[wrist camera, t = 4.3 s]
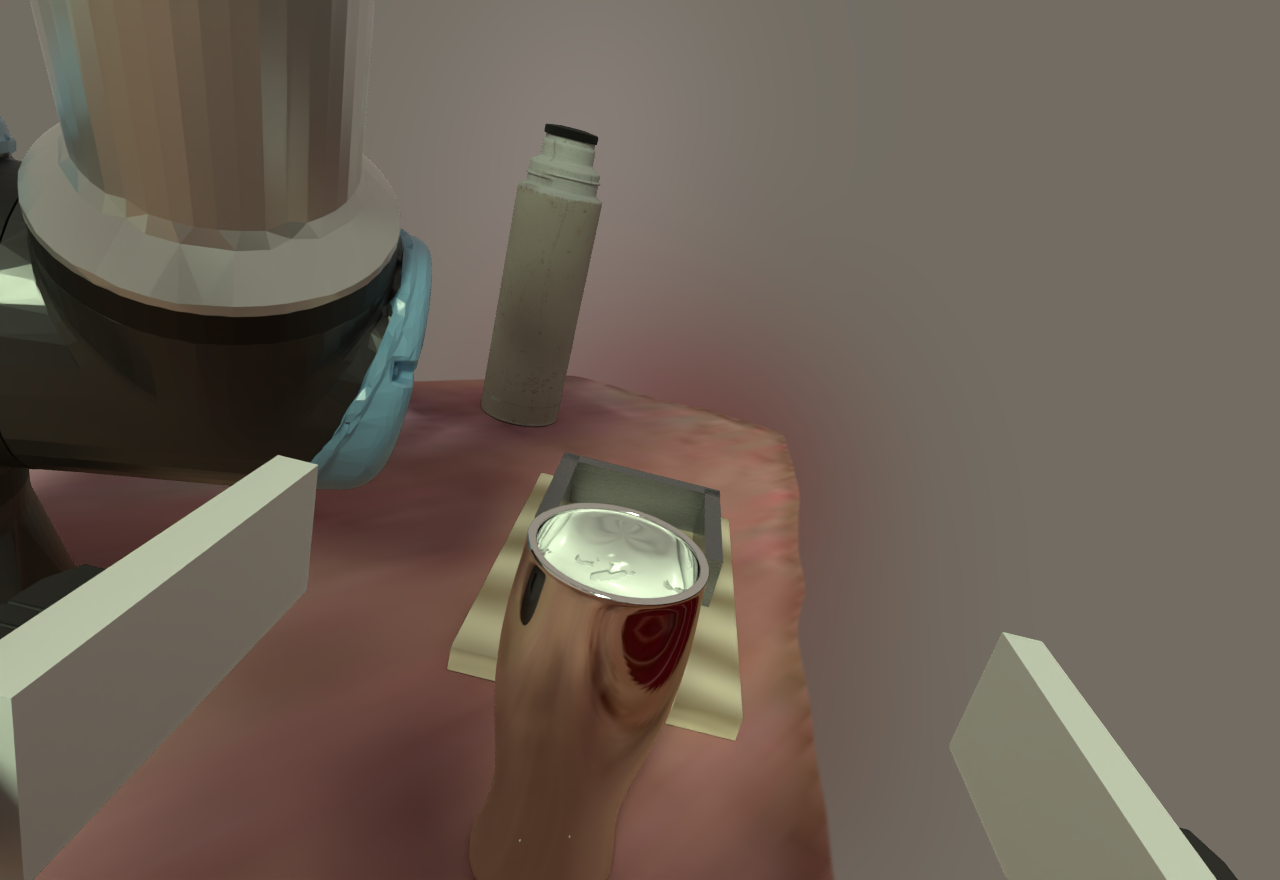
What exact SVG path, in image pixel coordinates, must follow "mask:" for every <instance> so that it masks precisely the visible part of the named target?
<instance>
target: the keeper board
mask: <svg viewBox="0 0 1280 880" xmlns="http://www.w3.org/2000/svg"><path fill="white" fill-rule="evenodd" d="M552 479H553V475H549V474H545V473H541V475H540V477H539V478H538V480H537V482H536V484H535V486H534V488H533V490H532V492H531V494H530V496H529V498H528V500H527V502H526V503H525V505H524V507H523V509H522V511H521V513H520V515H519V517H518V519H517V521H516V523H515V525H514V527H513V529H512V530H511V532H510V534H509V536H508V538H507V540H506V542H505V544H504V546H503V548H502V550H501V552H500V554H499V555H498V557H497V559H496V561H495V563H494V565H493V567H492V569H491V571H490V573H489V575H488V577H487V579H486V581H485V582H484V584H483V586H482V588H481V590H480V592H479V594H478V596H477V598H476V600H475V602H474V604H473V606H472V607H471V609H470V611H469V613H468V615H467V617H466V619H465V621H464V623H463V625H462V627H461V629H460V631H459V632H458V634H457V636H456V638H455V640H454V642H453V644H452V646H451V650H450V656H449V661H448V667H447V669H448V670H452V671H456V672H460V673H464V674H468V675H472V676H476V677H480V678H484V679H488V680H492V681H495V673H496V658H497V652H498V646H499V640H500V634H501V628H502V623H503V619H504V615H505V611H506V607H507V603H508V598H509V595H510V591H511V588H512V585H513V581H514V578H515V574H516V571H517V568H518V565H519V562H520V559H521V555H522V552H523V549H524V546H525V542H526V538H527V531H528V528H529V526H530V524H531V523H532V521H533V520H534V518H535V514H536V512H537V510H538V508H539V506H540V504H541V502H542V500H543V498H544V495H545V493H546V491H547V489H548V487H549V485H550V483H551V481H552ZM568 504H575V503H572V502H568ZM721 529H722V549H723V564H722V567H721V570H720V574H719V577H718V580H717V583H716V586H715V589H714V592H713V596H712V599H711V602H710V605H709V607H705V606H701V610H700V615H699V620H698V624H697V628H696V633H695V637H694V642H693V646H692V650H691V653H690V657H689V661H688V664H687V668H686V671H685V675H684V678H683V681H682V683H681V686H680V689H679V692H678V695H677V697H676V700H675V703H674V706H673V708H672V710H671V712H670V714H669V716H668V718H667V720H666V722H665V723H666V724H670V725H674V726H678V727H682V728H686V729H690V730H694V731H698V732H702V733H706V734H710V735H714V736H718V737H722V738H726V739H730V740H734V741H735V740H736V737H737V734H738V731H739V729H740V726H741V723H742V720H743V713H742V700H741V686H740V672H739V658H738V644H737V630H736V616H735V603H734V589H733V575H732V561H731V547H730V533H729V519H725V518H721ZM678 530H680V529H678ZM680 531H681V532H683V533H684V534H685V535H687V536H688V537H689V538H690V539H691V540H692V541H693V533H692V532H688V531H684V530H680Z"/></svg>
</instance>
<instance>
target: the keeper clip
mask: <svg viewBox="0 0 1280 880" xmlns="http://www.w3.org/2000/svg"><path fill="white" fill-rule="evenodd" d="M568 502H572V503H600V504H609V505H615V506H620V507H625V508H629V509H633V510H636V511H640V512H643V513H645V514H648V515H651V516H653V517H656V518H658V519H660V520H662V521H664V522H666V523H668V524H670V525H672V526H673V527H675V528H677V529H680V530H684V531H688V532H692V533H693V541H694V542H695V543H696V544H697V546H698V547H699V548H700V549H701V551H702V552H703V554H704V555H705V557H706V559H707V562H708V565H709V578H708V581H707V583H706V586H705V590H704V595H703V599H702V604H701V606H705V607H709V605H710V602H711V599H712V596H713V592H714V589H715V586H716V583H717V580H718V577H719V574H720V570H721V567H722V564H723V549H722V529H721V510H720V491H719V490H715V489H711V488H707V487H703V486H699V485H695V484H691V483H687V482H683V481H679V480H675V479H671V478H667V477H663V476H659V475H655V474H651V473H647V472H643V471H639V470H635V469H631V468H627V467H623V466H619V465H615V464H611V463H607V462H603V461H599V460H595V459H591V458H587V457H583V456H579V455H575V454H571V453H567V452H565V453H564V455H563V458H562V460H561V462H560V464H559V466H558V468H557V470H556V472H555V474H554V476H553V479H552V481H551V483H550V485H549V487H548V489H547V491H546V493H545V495H544V498H543V500H542V502H541V504H540V506H539V508H538V510H537V512H536V514H535V518H536V517H537V516H538V515H540V514H541V513H543V512H545V511H547V510H549V509H551V508H554V507H558V506H562V505H567V504H568ZM535 518H534V519H535Z"/></svg>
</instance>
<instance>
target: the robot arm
mask: <svg viewBox="0 0 1280 880" xmlns="http://www.w3.org/2000/svg"><path fill="white" fill-rule="evenodd" d="M30 4H31V8H32V12H33V16H34V20H35V24H36V28H37V32H38V36H39V40H40V45H41V49H42V52H43V57H44V61H45V65H46V69H47V73H48V77H49V81H50V85H51V89H52V93H53V97H54V101H55V106H56V110H57V114H58V118H59V123H58V124H56V125H55V126H53V127H52V128H50V129H49V130H47V131H46V132H45V133H44V134H43V135H42V136H41V137H40V138H39V139H38V140H36V141H35V143H34V144H33V145H32V146H31V148H30V149H29V150H28V152H27V153H26V155H25V156H24V158H23V161H22V162H21V161H18V160H15V159H14V158H13V157H12V156H11V155H12V153H13V152H15V151H16V141H15V140H14V139H13V138H12V137H11V135H10V133H9V130H8V128H7V125H6V123H5V121H4V120H3V119H2V118H1V117H0V880H34V879H35V877H36V876H37V875H38V874H39V873H40V872H41V871H42V870H43V869H44V868H45V867H46V866H47V865H48V864H49V863H50V862H51V861H52V859H53V858H54V857H55V856H56V855H57V854H58V853H59V852H60V851H61V850H62V849H63V848H64V847H65V846H66V845H67V844H68V843H69V842H70V840H71V839H72V838H73V837H74V836H75V835H76V834H77V833H78V832H79V831H80V830H81V829H82V828H83V827H84V826H85V825H86V824H87V822H88V821H89V820H90V819H91V818H92V817H93V816H94V815H95V814H96V813H97V812H98V811H99V810H100V809H101V808H102V807H103V806H104V804H105V803H106V802H107V801H108V800H109V799H110V798H111V797H112V796H113V795H114V794H115V793H116V792H117V791H118V790H119V789H120V788H121V787H122V785H123V784H124V783H125V782H126V781H127V780H128V779H129V778H130V777H131V776H132V775H133V774H134V773H135V772H136V771H137V770H138V769H139V767H140V766H141V765H142V764H143V763H144V762H145V761H146V760H147V759H148V758H149V757H150V756H151V755H152V754H153V753H154V752H155V751H156V750H157V748H158V747H159V746H160V745H161V744H162V743H163V742H164V741H165V740H166V739H167V738H168V737H169V736H170V735H171V734H172V733H173V732H174V730H175V729H176V728H177V727H178V726H179V725H180V724H181V723H182V722H183V721H184V720H185V719H186V718H187V717H188V716H189V715H190V714H191V712H192V711H193V710H194V709H195V708H196V707H197V706H198V705H199V704H200V703H201V702H202V701H203V700H204V699H205V698H206V697H207V696H208V695H209V693H210V692H211V691H212V690H213V689H214V688H215V687H216V686H217V685H218V684H219V683H220V682H221V681H222V680H223V679H224V678H225V677H226V675H227V674H228V673H229V672H230V671H231V670H232V669H233V668H234V667H235V666H236V665H237V664H238V663H239V662H240V661H241V660H242V659H243V657H244V656H245V655H246V654H247V653H248V652H249V651H250V650H251V649H252V648H253V647H254V646H255V645H256V644H257V643H258V642H259V641H260V640H261V638H262V637H263V636H264V635H265V634H266V633H267V632H268V631H269V630H270V629H271V628H272V627H273V626H274V625H275V624H276V623H277V622H278V620H279V619H280V618H281V617H282V616H283V615H284V614H285V613H286V612H287V611H288V610H289V609H290V608H291V607H292V606H293V605H294V604H295V602H296V601H297V600H298V599H299V598H300V597H301V596H302V595H303V594H304V593H305V592H306V591H307V584H308V573H309V562H310V551H311V540H312V529H313V518H314V507H315V496H316V489H329V490H348V489H354V488H357V487H360V486H362V485H365V484H366V483H368V482H370V481H371V480H372V479H374V478H375V477H376V476H377V475H378V474H379V473H380V472H381V470H382V469H383V468H384V466H385V465H386V463H387V461H388V460H389V458H390V456H391V454H392V451H393V449H394V447H395V444H396V442H397V439H398V437H399V434H400V431H401V428H402V425H403V422H404V419H405V416H406V412H407V409H408V406H409V402H410V398H411V393H412V389H413V382H414V374H413V372H414V370H415V369H416V366H417V363H418V359H419V355H420V353H421V349H422V346H423V342H424V337H425V331H426V325H427V319H428V312H429V304H430V296H431V282H432V262H431V255H430V251H429V249H428V247H427V245H426V244H425V243H424V242H423V241H422V240H420V239H419V238H416V237H414V236H411V235H409V234H408V233H407V232H405V231H404V230H403V229H401V214H400V210H399V206H398V202H397V199H396V196H395V193H394V191H393V189H392V187H391V186H390V184H389V182H388V181H387V179H386V178H385V176H384V175H383V174H382V173H381V172H380V171H379V169H378V168H377V167H376V166H375V165H374V164H373V163H372V162H371V161H370V160H369V159H368V158H367V157H366V156H365V155H364V154H363V152H364V139H365V125H366V112H367V99H368V85H369V72H370V58H371V45H372V33H373V19H374V6H375V0H30ZM29 469H45V470H58V471H72V472H85V473H96V474H107V475H118V476H130V477H141V478H152V479H163V480H174V481H186V482H197V483H208V484H219V485H230V486H231V487H229V488H228V489H226V490H225V491H223V492H222V493H220V494H219V495H217V496H216V497H214V498H213V499H211V500H210V501H208V502H207V503H205V504H204V505H202V506H201V507H199V508H198V509H196V510H195V511H193V512H192V513H190V514H189V515H187V516H186V517H184V518H183V519H181V520H180V521H178V522H177V523H175V524H174V525H172V526H170V527H169V528H167V529H166V530H164V531H163V532H161V533H160V534H158V535H157V536H155V537H154V538H152V539H151V540H149V541H148V542H146V543H145V544H143V545H142V546H140V547H139V548H137V549H136V550H134V551H133V552H131V553H130V554H128V555H127V556H125V557H124V558H122V559H121V560H119V561H118V562H116V563H115V564H113V565H112V566H110V567H109V568H107V569H103V568H98V567H94V566H90V565H86V564H85V565H82V566H79V567H75V565H74V563H73V562H72V560H71V558H70V556H69V554H68V552H67V550H66V549H65V547H64V545H63V543H62V541H61V539H60V538H59V536H58V534H57V532H56V530H55V528H54V527H53V525H52V523H51V521H50V519H49V517H48V516H47V514H46V512H45V510H44V508H43V506H42V505H41V503H40V501H39V499H38V497H37V495H36V493H35V492H34V490H33V488H32V486H31V482H30V475H29ZM949 748H950V751H951V753H952V755H953V758H954V760H955V762H956V765H957V767H958V769H959V771H960V774H961V776H962V778H963V781H964V783H965V785H966V788H967V790H968V792H969V794H970V797H971V799H972V801H973V804H974V806H975V808H976V810H977V813H978V815H979V817H980V820H981V822H982V824H983V826H984V829H985V831H986V833H987V836H988V838H989V840H990V843H991V845H992V847H993V849H994V852H995V854H996V856H997V859H998V861H999V863H1000V865H1001V867H1002V870H1003V872H1004V875H1005V877H1006V879H1007V880H1238V879H1237V878H1236V877H1235V876H1234V874H1233V873H1232V872H1231V870H1230V869H1229V868H1228V866H1227V865H1226V864H1225V863H1224V862H1223V861H1222V860H1221V859H1220V858H1219V857H1218V856H1217V855H1216V854H1215V853H1213V852H1212V851H1211V850H1210V849H1209V848H1208V847H1207V846H1206V845H1205V844H1204V843H1202V842H1201V841H1200V840H1199V839H1198V838H1197V837H1196V836H1195V835H1194V834H1193V833H1191V831H1189V830H1187V829H1183V828H1179V827H1178V826H1177V825H1176V823H1175V822H1174V821H1173V820H1172V818H1171V817H1170V816H1169V814H1168V813H1167V811H1166V810H1165V808H1164V807H1163V806H1162V804H1161V803H1160V802H1159V800H1158V799H1157V798H1156V797H1155V795H1154V793H1153V792H1152V791H1151V789H1150V788H1149V787H1148V785H1147V784H1146V783H1145V781H1144V780H1143V779H1142V777H1141V776H1140V774H1139V773H1138V772H1137V770H1136V769H1135V768H1134V766H1133V765H1132V764H1131V762H1130V761H1129V759H1128V758H1127V757H1126V755H1125V754H1124V753H1123V751H1122V750H1121V748H1120V747H1119V746H1118V744H1117V743H1116V742H1115V740H1114V739H1113V738H1112V736H1111V735H1110V734H1109V732H1108V731H1107V729H1106V728H1105V727H1104V725H1103V724H1102V723H1101V721H1100V720H1099V719H1098V717H1097V716H1096V714H1095V713H1094V712H1093V710H1092V709H1091V708H1090V706H1089V705H1088V704H1087V702H1086V701H1085V699H1084V698H1083V697H1082V695H1081V694H1080V693H1079V691H1078V690H1077V689H1076V687H1075V686H1074V685H1073V683H1072V682H1071V681H1070V679H1069V678H1068V676H1067V675H1066V674H1065V672H1064V671H1063V669H1062V668H1061V667H1060V665H1059V664H1058V663H1057V661H1056V660H1055V659H1054V657H1053V656H1052V655H1051V653H1050V652H1049V651H1048V649H1047V648H1046V646H1045V645H1044V644H1043V642H1041V641H1037V640H1032V639H1029V638H1025V637H1020V636H1017V635H1013V634H1009V633H1005V632H1003V633H1002V634H1001V636H1000V638H999V640H998V642H997V645H996V647H995V649H994V651H993V653H992V655H991V657H990V660H989V662H988V664H987V666H986V668H985V670H984V672H983V674H982V677H981V679H980V681H979V683H978V685H977V687H976V689H975V691H974V693H973V696H972V698H971V700H970V702H969V704H968V706H967V708H966V710H965V712H964V715H963V717H962V719H961V721H960V723H959V725H958V727H957V730H956V732H955V734H954V736H953V738H952V740H951V742H950V744H949Z"/></svg>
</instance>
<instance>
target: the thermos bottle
mask: <svg viewBox="0 0 1280 880" xmlns="http://www.w3.org/2000/svg"><path fill="white" fill-rule="evenodd" d="M545 132H547V133H546V138H545V139H544V140H543V145H542V151H541V154H540V155H538V156H536V157H534V158H532V159H531V160H530V164H529V169H527V172H528V176H527V179H526V181H522V182H519V183H518V188H517V193H516V199H515V206H514V211H513V217H512V223H511V229H510V235H509V241H508V247H507V252H506V259H505V264H504V270H503V276H502V282H501V288H500V294H499V300H498V305H497V311H496V318H495V324H494V329H493V335H492V341H491V347H490V353H489V359H488V364H487V370H486V377H485V382H484V388H483V394H482V400H481V407H482V409H483V410H484V411H485V412H486V413H487V414H489V415H490V416H492V417H494V418H496V419H499V420H502V421H504V422H508V423H512V424H516V425H523V426H546V425H549V424H552V423H554V422H555V421H556V420H557V416H558V411H559V407H560V402H561V398H562V392H563V387H564V382H565V377H566V373H567V368H568V363H569V358H570V354H571V349H572V344H573V339H574V334H575V329H576V324H577V319H578V315H579V310H580V305H581V301H582V297H583V292H584V287H585V282H586V277H587V273H588V268H589V263H590V258H591V254H592V249H593V244H594V239H595V235H596V230H597V225H598V221H599V215H600V211H601V206H602V202H601V201H600V200H599V199H598V198H597V197H596V194H597V189H598V186H600V184H599V179H600V176H599V174H598V173H597V172H596V171H595V169H594V168H593V162H594V157H595V151H594V148H595V145H597V142H598V137H597V136H594V135H592V134H590V133H587V132H585V131H582V130H578V129H574V128H570V127H566V126H562V125H554V124H546V125H545Z"/></svg>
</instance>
